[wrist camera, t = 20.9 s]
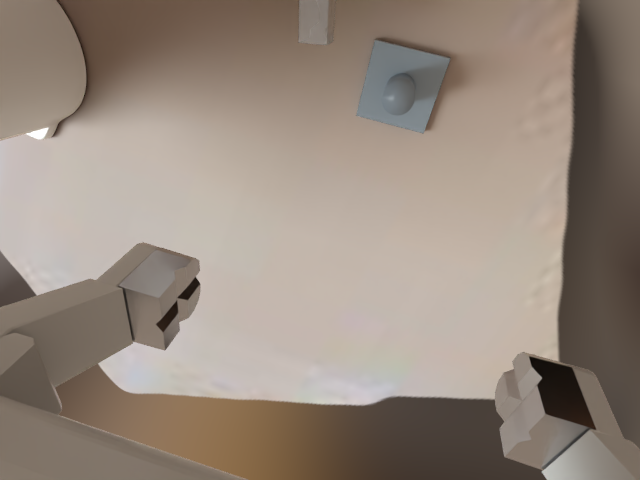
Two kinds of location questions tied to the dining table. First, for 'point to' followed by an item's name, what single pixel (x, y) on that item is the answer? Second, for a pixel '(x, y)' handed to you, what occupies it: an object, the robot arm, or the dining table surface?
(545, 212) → the dining table surface
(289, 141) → the dining table surface
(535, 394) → the robot arm
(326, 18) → the lever handle
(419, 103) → the cover
